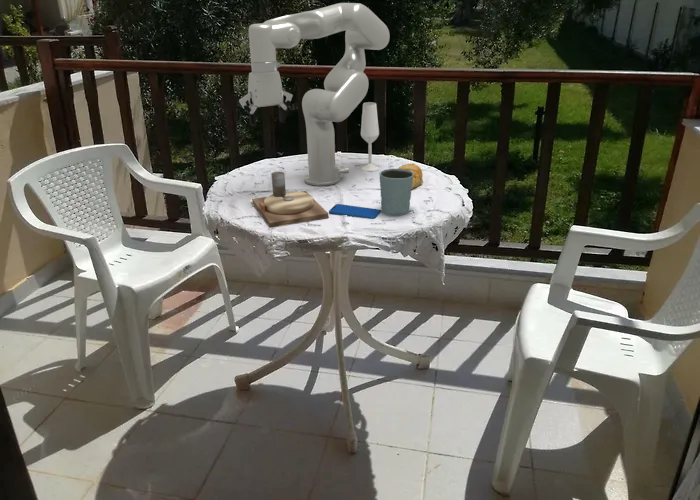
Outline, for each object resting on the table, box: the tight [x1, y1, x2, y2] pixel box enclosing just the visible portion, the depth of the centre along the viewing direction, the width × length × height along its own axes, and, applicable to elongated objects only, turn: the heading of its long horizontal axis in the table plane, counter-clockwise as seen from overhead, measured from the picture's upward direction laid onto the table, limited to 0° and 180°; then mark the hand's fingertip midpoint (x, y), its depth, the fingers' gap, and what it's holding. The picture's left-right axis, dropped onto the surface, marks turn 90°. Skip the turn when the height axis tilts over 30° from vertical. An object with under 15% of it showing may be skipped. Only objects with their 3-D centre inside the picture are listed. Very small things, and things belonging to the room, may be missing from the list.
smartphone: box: [328, 203, 382, 220], centre depth 181 cm, size 7×1×15 cm
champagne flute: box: [360, 101, 380, 172], centre depth 216 cm, size 7×7×24 cm
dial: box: [264, 171, 314, 214], centre depth 181 cm, size 15×15×9 cm
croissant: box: [396, 163, 423, 190], centre depth 204 cm, size 21×10×8 cm, turn 166°
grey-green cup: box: [378, 168, 414, 217], centre depth 179 cm, size 10×10×12 cm
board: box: [251, 190, 330, 228], centre depth 183 cm, size 18×22×4 cm
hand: (268, 124), depth 185 cm, fingers open, 9 cm apart
